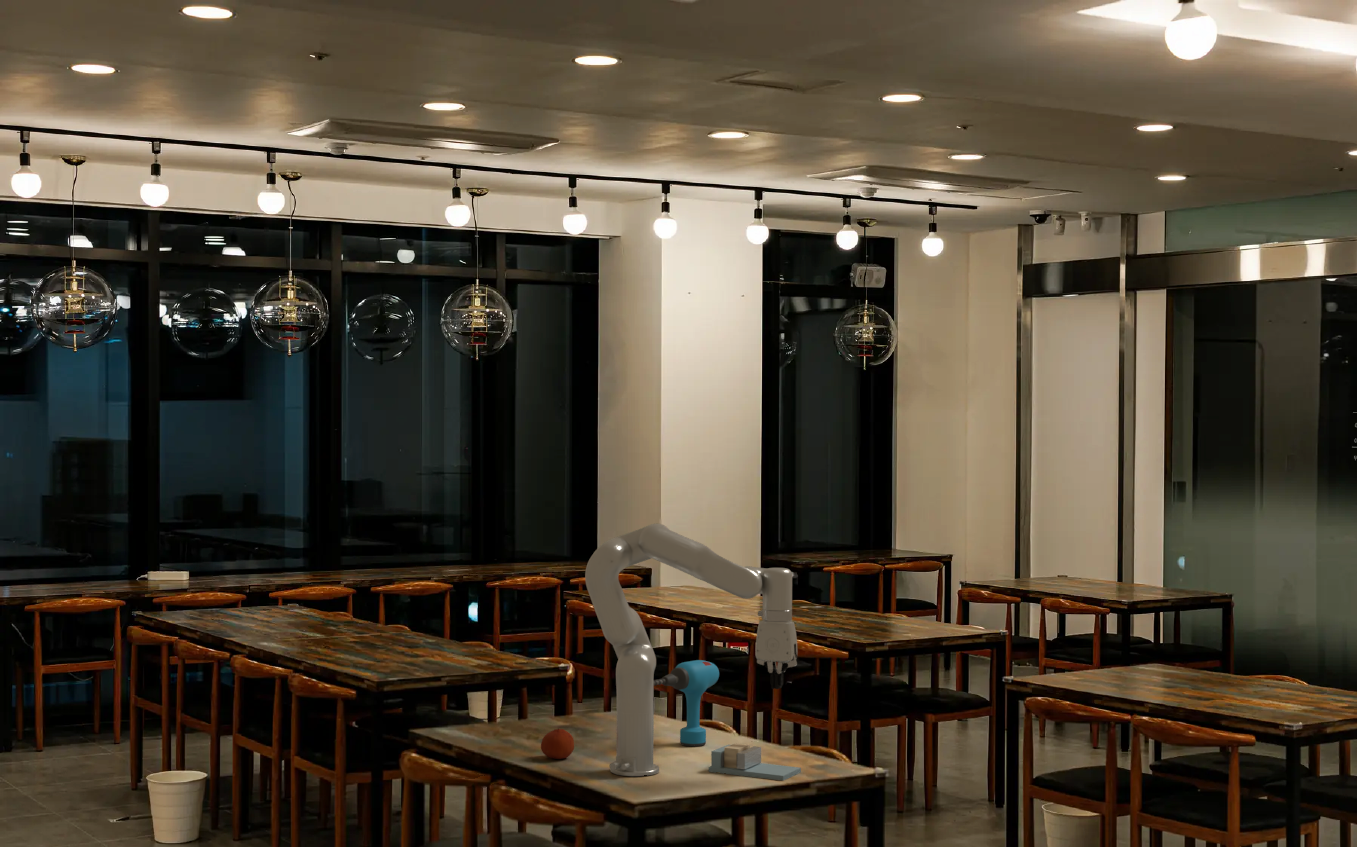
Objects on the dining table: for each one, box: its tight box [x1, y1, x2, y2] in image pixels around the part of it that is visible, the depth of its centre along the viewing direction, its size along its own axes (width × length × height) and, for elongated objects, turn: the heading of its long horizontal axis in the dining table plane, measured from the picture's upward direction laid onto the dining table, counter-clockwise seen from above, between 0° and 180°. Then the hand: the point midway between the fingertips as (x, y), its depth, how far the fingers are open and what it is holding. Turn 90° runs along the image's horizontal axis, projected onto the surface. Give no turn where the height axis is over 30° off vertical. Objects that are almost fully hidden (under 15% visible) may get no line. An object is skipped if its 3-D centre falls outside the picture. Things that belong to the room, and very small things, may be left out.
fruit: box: [540, 728, 575, 760], centre depth 424 cm, size 9×9×8 cm
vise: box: [708, 744, 802, 782], centre depth 409 cm, size 11×21×5 cm, turn 62°
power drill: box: [653, 659, 720, 747], centre depth 440 cm, size 28×9×23 cm, turn 139°
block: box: [724, 742, 751, 768], centre depth 411 cm, size 7×4×5 cm, turn 152°
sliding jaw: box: [737, 745, 762, 770], centre depth 410 cm, size 10×2×4 cm, turn 152°
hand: (776, 687), depth 406 cm, fingers closed
